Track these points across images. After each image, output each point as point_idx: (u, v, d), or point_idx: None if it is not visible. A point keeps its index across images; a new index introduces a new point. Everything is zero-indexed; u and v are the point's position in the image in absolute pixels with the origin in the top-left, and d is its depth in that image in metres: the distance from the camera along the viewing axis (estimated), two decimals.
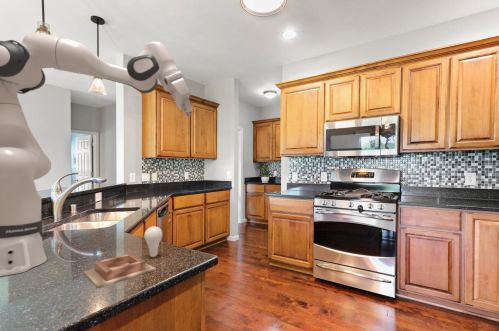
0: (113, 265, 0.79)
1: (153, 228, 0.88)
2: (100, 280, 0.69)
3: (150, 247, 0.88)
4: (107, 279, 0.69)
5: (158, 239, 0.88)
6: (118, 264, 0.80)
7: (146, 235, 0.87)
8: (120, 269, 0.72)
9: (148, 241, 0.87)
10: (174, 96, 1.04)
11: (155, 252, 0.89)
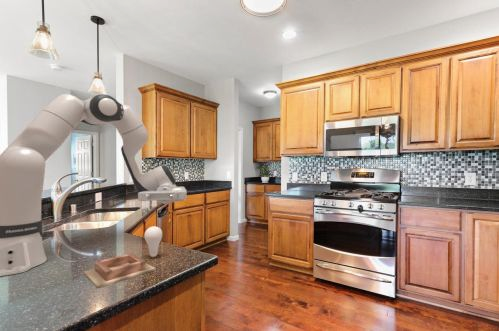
0: (113, 265, 0.79)
1: (153, 228, 0.88)
2: (100, 280, 0.69)
3: (150, 247, 0.88)
4: (107, 279, 0.69)
5: (158, 239, 0.88)
6: (118, 264, 0.80)
7: (146, 235, 0.87)
8: (120, 269, 0.72)
9: (148, 241, 0.87)
10: (153, 191, 1.11)
11: (155, 252, 0.89)
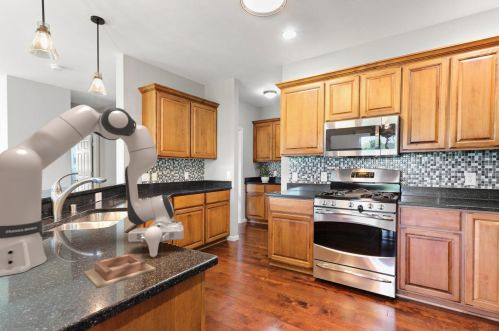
0: (113, 265, 0.79)
1: (153, 228, 0.88)
2: (100, 280, 0.69)
3: (150, 247, 0.88)
4: (107, 279, 0.69)
5: (158, 239, 0.88)
6: (118, 264, 0.80)
7: (146, 235, 0.87)
8: (120, 269, 0.72)
9: (148, 241, 0.87)
10: (145, 229, 0.98)
11: (155, 252, 0.89)
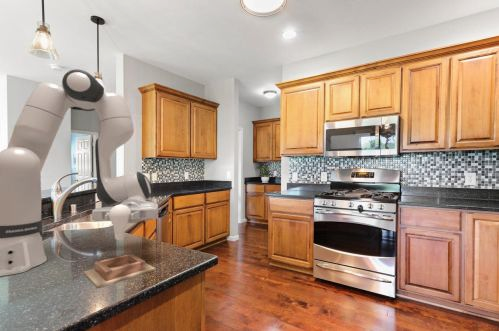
0: (113, 265, 0.79)
1: (120, 206, 0.76)
2: (100, 280, 0.69)
3: (115, 228, 0.75)
4: (107, 279, 0.69)
5: (125, 219, 0.76)
6: (118, 264, 0.80)
7: (111, 213, 0.74)
8: (120, 269, 0.72)
9: (113, 221, 0.75)
10: None
11: (121, 234, 0.76)
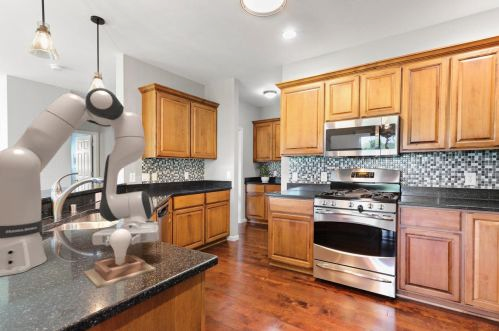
0: (113, 265, 0.79)
1: (120, 231, 0.76)
2: (100, 280, 0.69)
3: (116, 253, 0.75)
4: (107, 279, 0.69)
5: (126, 244, 0.76)
6: None
7: (111, 239, 0.74)
8: (120, 269, 0.72)
9: (113, 246, 0.75)
10: (114, 230, 0.85)
11: (122, 259, 0.76)
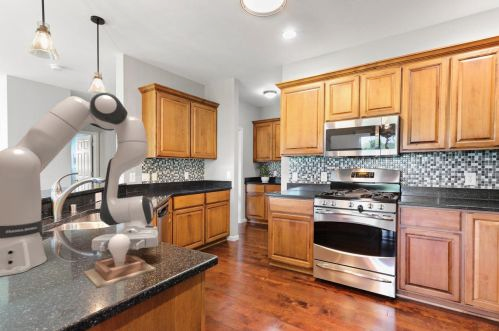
0: (113, 265, 0.79)
1: (119, 236, 0.76)
2: (100, 280, 0.69)
3: (115, 259, 0.75)
4: (107, 279, 0.69)
5: (125, 249, 0.75)
6: None
7: (110, 245, 0.74)
8: (120, 269, 0.72)
9: (112, 252, 0.74)
10: (114, 235, 0.85)
11: (121, 264, 0.76)
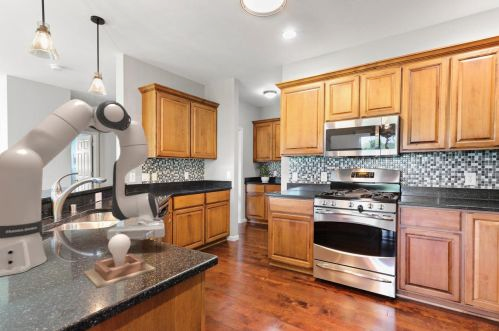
0: (113, 265, 0.79)
1: (119, 236, 0.75)
2: (100, 280, 0.69)
3: (115, 259, 0.75)
4: (107, 279, 0.69)
5: (125, 249, 0.75)
6: None
7: (110, 245, 0.74)
8: (120, 269, 0.72)
9: (112, 252, 0.74)
10: (126, 227, 0.97)
11: (121, 264, 0.76)
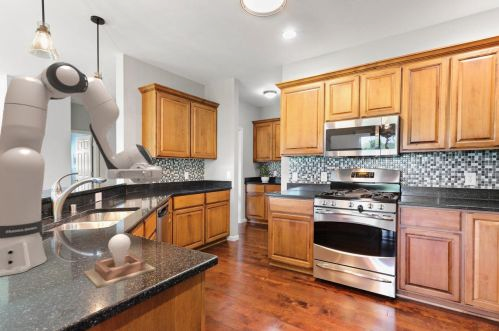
0: (113, 265, 0.79)
1: (119, 236, 0.76)
2: (100, 280, 0.69)
3: (115, 259, 0.75)
4: (107, 279, 0.69)
5: (125, 249, 0.75)
6: None
7: (110, 245, 0.74)
8: (120, 269, 0.72)
9: (112, 252, 0.74)
10: None
11: (121, 264, 0.76)
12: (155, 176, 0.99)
